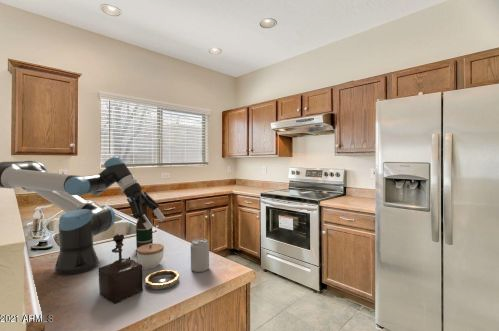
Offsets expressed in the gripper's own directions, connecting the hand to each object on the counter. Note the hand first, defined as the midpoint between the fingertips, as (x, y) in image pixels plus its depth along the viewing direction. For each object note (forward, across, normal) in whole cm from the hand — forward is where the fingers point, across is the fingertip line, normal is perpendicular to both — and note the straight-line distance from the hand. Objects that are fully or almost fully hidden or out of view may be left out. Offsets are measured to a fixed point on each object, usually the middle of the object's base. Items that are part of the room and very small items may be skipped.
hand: (157, 224), depth 121 cm
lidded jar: (+13, -9, +8) cm, 18 cm away
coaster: (+20, -23, -1) cm, 30 cm away
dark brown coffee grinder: (+12, -30, +10) cm, 34 cm away
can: (+26, -11, -10) cm, 30 cm away
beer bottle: (+6, +10, +18) cm, 21 cm away
